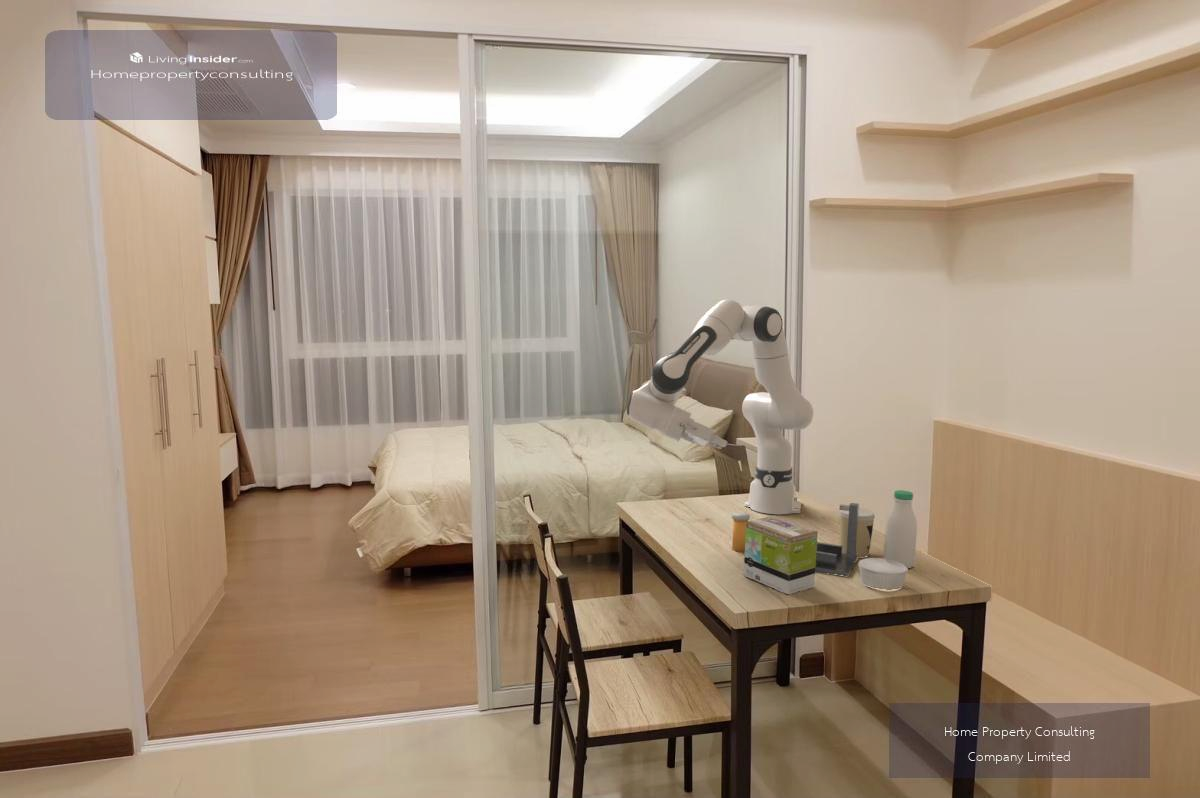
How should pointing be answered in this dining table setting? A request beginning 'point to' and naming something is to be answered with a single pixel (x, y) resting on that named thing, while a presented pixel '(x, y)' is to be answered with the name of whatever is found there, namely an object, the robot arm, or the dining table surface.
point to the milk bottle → (901, 530)
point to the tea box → (780, 554)
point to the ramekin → (882, 573)
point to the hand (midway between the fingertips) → (724, 445)
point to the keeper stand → (839, 548)
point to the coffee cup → (863, 531)
